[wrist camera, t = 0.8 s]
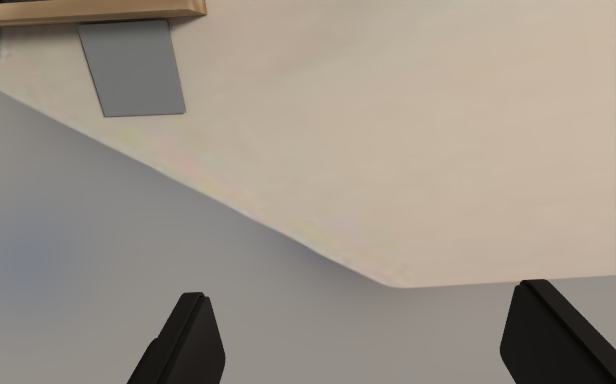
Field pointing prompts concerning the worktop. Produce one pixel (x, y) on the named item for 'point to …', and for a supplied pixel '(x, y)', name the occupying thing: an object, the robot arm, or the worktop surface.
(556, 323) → the robot arm
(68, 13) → the rack
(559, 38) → the worktop surface
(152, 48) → the coaster
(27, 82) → the worktop surface
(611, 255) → the worktop surface
